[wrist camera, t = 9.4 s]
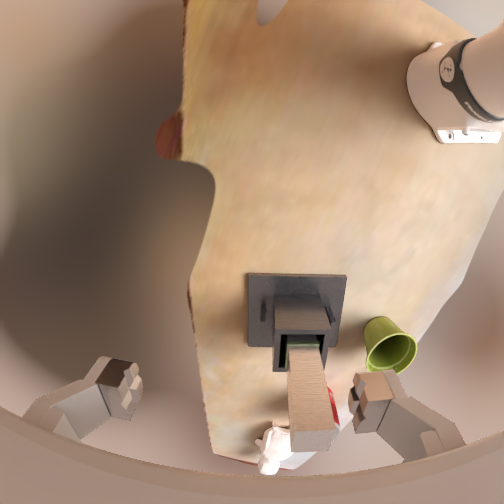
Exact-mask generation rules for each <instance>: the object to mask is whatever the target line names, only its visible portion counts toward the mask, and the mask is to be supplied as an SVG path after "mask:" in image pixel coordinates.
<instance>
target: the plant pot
mask: <svg viewBox="0 0 504 504" xmlns="http://www.w3.org/2000/svg"><path fill="white" fill-rule="evenodd" d="M363 336H364V341H365V345H366V350H367V358H366V368H367V370H368V372H373V371H382V370H391V369H393V370H394V371H395V372H396V374H399V373H401V372H402V371H404V370H405V369H406V368H407V367H408V366H409V365H410V364H411V363H412V361H413V360H414V358H415V356H416V353H417V343H416V340H415V339H414V338H413V337H412V336H411V335H410V334H407V333H405V332H403V331H402V330H401V329H399V328H398V327H397V326H396V325H395V324H394V323H393V322H392V321H391V320H390V319H389V318H387V317H377V318H374V319H372V320H371V321H370V322H369V323H368V324H367V325H366V326H365V329H364V334H363Z"/></svg>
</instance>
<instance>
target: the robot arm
mask: <svg viewBox="0 0 504 504" xmlns="http://www.w3.org/2000/svg"><path fill="white" fill-rule="evenodd" d="M407 87H408V92H409V95H410V98H411V100H412V103H413V105H414V106H415V108H416V110H417V111H418V113H419V114H420V115H421V116H422V117H423V119H424V120H425V121H426V122H427V123H428V124H429V125H430V126H431V127H432V129H433V131H434V133H435V135H436V137H437V139H438V140H439V142H441V143H443V144H449V143H497V142H498V141H499V139H500V136H501V133H502V132H504V20H503V22H502V23H501V24H500V26H499V27H497V28H496V29H494V30H493V31H491V32H489V33H487V34H486V35H484V36H482V37H480V38H478V39H477V38H471V39H466V40H463V41H460V40H455V41H452V42H449V43H446V44H442V43H440V42H436V43H433V44H432V45H431V46H430V48H429V49H428V51H426V52H424V53H422V54H419V55H418V56H416V57H415V58H414V59H413V60H412V61H411V63H410V65H409V68H408V71H407ZM448 134H449V136H450V138H449V137H448ZM138 372H139V368H138V365H137V364H136V363H135V362H130V361H125V360H119V359H115V358H109V357H104V356H102V357H100V358H99V359H98V360H97V362H96V363H95V364H94V366H93V367H92V368H91V370H90V371H89V372H88V374H87V375H86V377H85V378H84V379H83V380H78V381H76V382H73V383H71V384H69V385H67V386H65V387H62V388H60V389H58V390H56V391H54V392H51V393H49V394H47V395H44V396H42V397H40V398H38V399H36V400H35V401H34V402H33V404H32V405H31V406H30V408H29V409H28V410H27V411H26V413H25V414H24V415H23V417H20V416H18V415H16V414H14V413H12V412H10V411H8V410H6V409H4V408H3V407H1V406H0V504H504V430H502V431H499V432H497V433H495V434H493V435H490V436H488V437H485V438H483V439H480V440H478V441H475V442H473V443H470V444H467V445H466V444H465V442H464V440H463V438H462V436H461V434H460V432H459V430H458V428H457V427H456V425H455V423H453V422H452V421H450V420H448V419H447V418H445V417H443V416H442V415H440V414H438V413H437V412H435V411H434V410H432V409H430V408H429V407H427V406H425V405H424V404H422V403H421V402H419V401H417V400H416V399H414V398H413V397H407V394H406V392H405V390H404V388H403V386H402V385H401V382H400V380H399V378H398V376H397V374H396V372H395V371H394V370H393V369H391V370H382V371H373V372H361V373H356V374H355V375H354V378H353V383H354V386H353V387H352V388H351V389H350V392H349V398H348V405H349V410H350V413H352V414H353V415H354V417H353V420H352V422H353V426H354V430H355V433H356V434H357V433H369V432H377V434H378V435H379V436H381V437H382V438H383V439H384V440H385V441H386V442H387V443H388V444H389V445H390V446H391V447H392V448H393V449H394V450H395V451H396V452H398V453H399V454H400V455H401V456H402V457H403V458H404V461H403V462H402V463H401V464H396V465H391V466H386V467H381V468H375V469H368V470H362V471H354V472H347V473H337V474H326V475H313V476H285V477H271V476H269V477H268V476H267V477H266V476H265V477H264V476H242V475H228V474H218V473H209V472H200V471H193V470H186V469H180V468H174V467H169V466H164V465H159V464H154V463H150V462H145V461H141V460H137V459H132V458H129V457H125V456H121V455H118V454H114V453H111V452H107V451H104V450H101V449H98V448H94V447H92V446H89V445H86V444H83V443H81V441H80V439H82V438H83V437H85V436H86V435H88V434H89V433H91V432H92V431H93V430H95V429H96V428H98V427H99V426H100V425H102V424H103V423H105V422H106V421H107V420H109V419H110V418H111V417H115V418H119V419H124V420H129V421H130V420H131V418H132V416H133V414H134V412H135V410H136V408H135V405H134V404H135V403H137V402H139V401H140V399H141V397H142V393H143V383H142V379H141V378H140V377H139V376H138V375H137V374H138Z"/></svg>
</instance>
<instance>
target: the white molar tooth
mask: <svg viewBox="0 0 504 504" xmlns="http://www.w3.org/2000/svg"><path fill="white" fill-rule="evenodd" d="M255 444H256V445H258V446H259V447H260V449H261V455H262V457H261V458H260V461H259V462H258V469H259V472H260V473H262V474H265V475H273V474H275V473H276V472H277V471H278V469H279V466H280V461H283V460H285V459H287V458H289V457H290V456H291V455H292V454H293V453H294V452H291V448H290V429H285V428H280V427H278V425H277V423H276V422H272V427H271V428H269V429H267V430H266V431H265V432H264V436H263V440H260V439H256V441H255Z"/></svg>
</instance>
